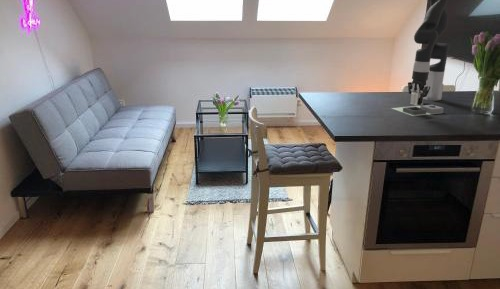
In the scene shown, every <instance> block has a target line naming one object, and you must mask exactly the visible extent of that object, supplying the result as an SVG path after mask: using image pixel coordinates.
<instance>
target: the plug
mask: <svg viewBox="0 0 500 289" xmlns="http://www.w3.org/2000/svg"><path fill="white" fill-rule="evenodd" d="M418 95H419V94H418V92H412V96H410V103H409V104H411V105H412V106H419V105H418V104H417V103H418V98H419V97H418ZM421 95H422V93H421ZM423 101H424V100H423ZM423 101H422V103H423ZM422 105H423V104H421V105H420V106H422Z"/></svg>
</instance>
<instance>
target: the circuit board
mask: <svg viewBox="0 0 500 289" xmlns="http://www.w3.org/2000/svg"><path fill="white" fill-rule="evenodd" d="M406 107H407V106H402V107H401V106H400V107H391V108H390V109H392V110H395V111H398V112H400V113H403V114H405V115H409V116H412V117H415V116H416V117H417V116H427V115H434V114H435V115H436V114H443V113H444V107H442V106H439V105H434V104H425V105H424V104H422V105H411V106H410V107H419V108H422V109H425V110H426V114H417V115H412V114H409V113H406V112H403V108H406Z"/></svg>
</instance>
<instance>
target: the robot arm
mask: <svg viewBox="0 0 500 289" xmlns="http://www.w3.org/2000/svg"><path fill="white" fill-rule="evenodd" d="M448 2H449V0H430V7H429V8H428V9H427V11H426V13H425V16H424V19H423V21H422V23H421V25H419V27H418V28H417V30H416V31H415V33H414V35H413V40H414V42H415V43H416V44H419V45H422V44H423V45H427V46H426V47H424V48H418V49H417V50H416V52H415V58H414V63H413V68H412V76H411V79H412V81H411V82H407V88H408V94H410V95H411V96H412V92H418V94H419V95H418V97H419V98H418V103H417V104H418V105H417V106H422V105H423V104H422V103H423V102H422V101H424V99H423V97H427V94H428V97H427V100H426V101H432V102H433V101H434V102H436V101H437V102H438V101H441V100H442V95H443V90H444V85H445V84H444V83H443V82H444V76H445V71H446V66H447V59H448V54H449V50H450V45H449V44H448V43H445V42H437V41H438V38H439V37H440V36H441V35H442V34H443V33H444V32H445V31H446V29H447V28H448V25H449V24H448V23H449V13H448V11H447V9H446V6H447V4H448ZM431 59H432V60H439V62H437V63H433V64H431ZM421 93H422V95H421ZM424 94H425V95H424ZM411 96H410V97H411ZM421 104H422V105H421Z"/></svg>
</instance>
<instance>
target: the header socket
mask: <svg viewBox="0 0 500 289" xmlns="http://www.w3.org/2000/svg"><path fill="white" fill-rule="evenodd" d="M405 107H406V108H403V112H406V113H409V114H412V115H417V114H426V110H425V109H422V108H419V107H411V106H405ZM403 112H402V113H403ZM406 113H405V114H406ZM409 114H408V115H409Z"/></svg>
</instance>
